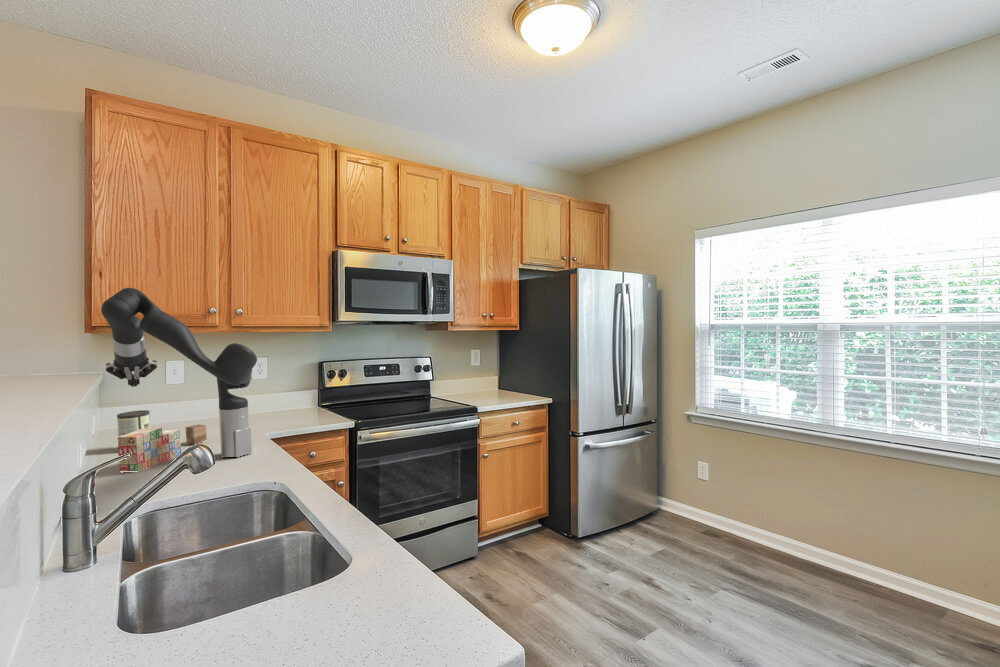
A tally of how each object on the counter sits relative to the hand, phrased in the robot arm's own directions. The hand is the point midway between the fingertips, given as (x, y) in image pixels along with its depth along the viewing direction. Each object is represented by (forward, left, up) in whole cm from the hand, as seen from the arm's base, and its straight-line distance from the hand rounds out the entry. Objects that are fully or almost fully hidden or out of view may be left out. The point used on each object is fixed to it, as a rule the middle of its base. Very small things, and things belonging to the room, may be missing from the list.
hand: (134, 384), depth 154 cm
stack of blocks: (+13, -11, -30) cm, 35 cm away
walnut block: (+26, -35, -30) cm, 53 cm away
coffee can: (+42, -21, -30) cm, 56 cm away
